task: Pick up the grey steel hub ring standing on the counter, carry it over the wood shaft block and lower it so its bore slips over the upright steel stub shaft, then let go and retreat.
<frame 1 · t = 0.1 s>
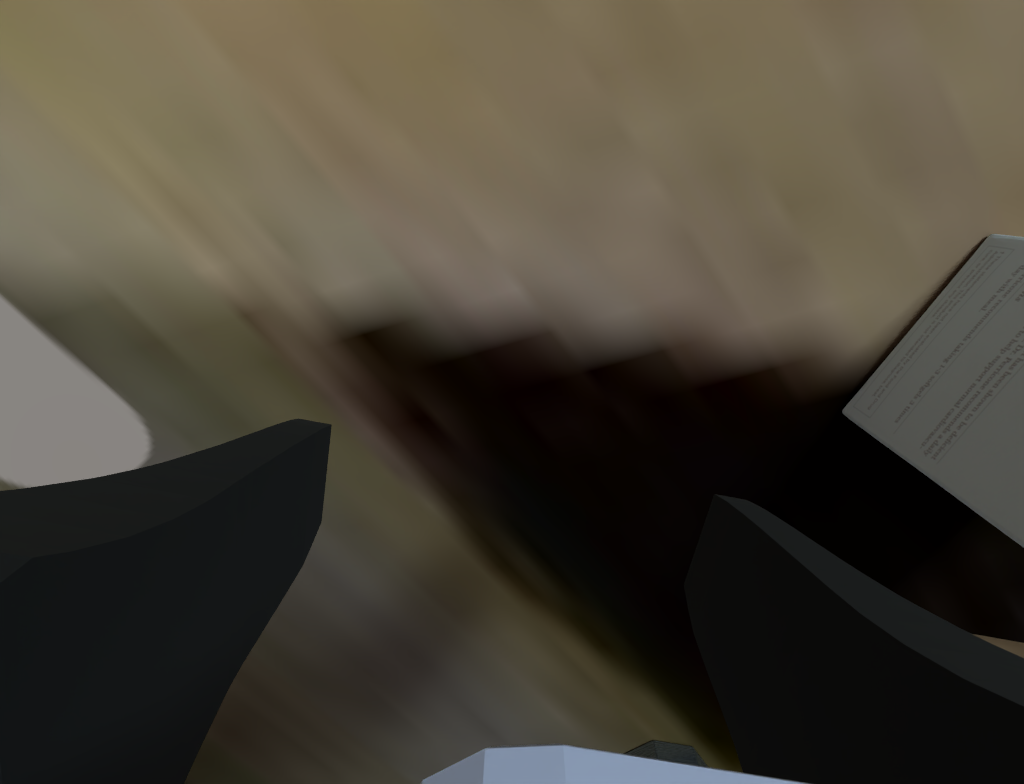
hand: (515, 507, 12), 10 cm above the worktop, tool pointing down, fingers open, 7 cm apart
hub: (659, 778, 27), on the worktop
supplement box: (986, 376, 21), on the worktop
shaft block: (900, 725, 26), on the worktop
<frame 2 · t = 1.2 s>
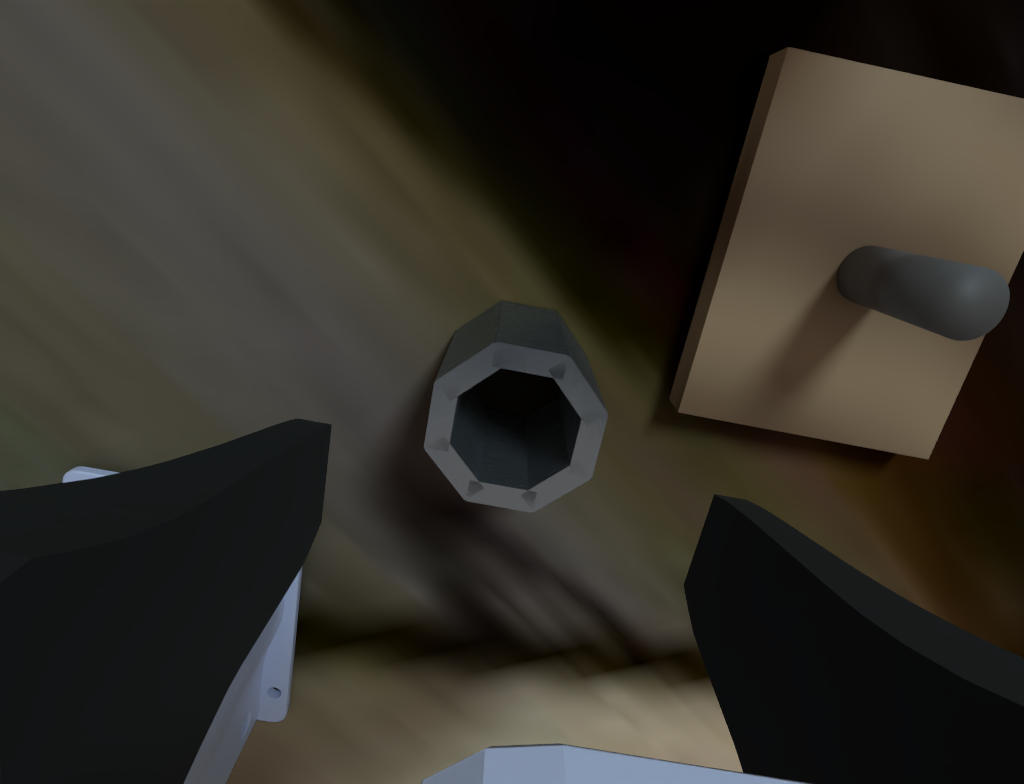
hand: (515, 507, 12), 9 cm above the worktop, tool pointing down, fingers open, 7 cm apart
hub: (516, 370, 20), on the worktop
shaft block: (844, 268, 19), on the worktop
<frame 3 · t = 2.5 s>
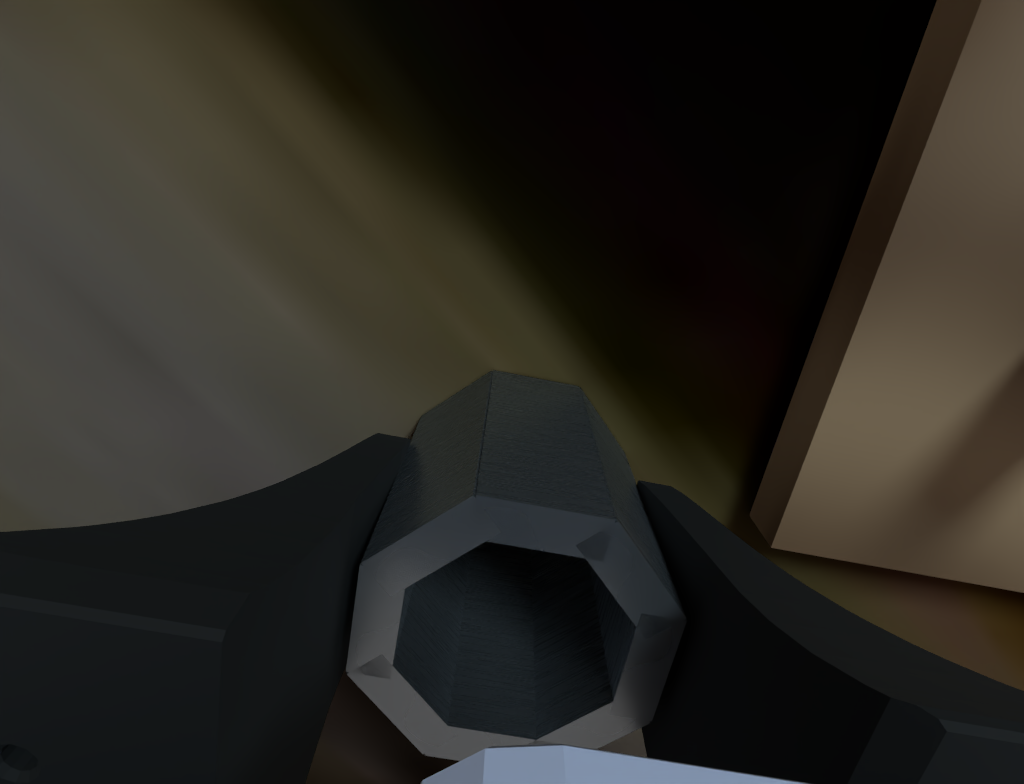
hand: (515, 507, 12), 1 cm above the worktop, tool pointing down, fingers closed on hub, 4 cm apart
hub: (515, 473, 13), on the worktop, touching gripper
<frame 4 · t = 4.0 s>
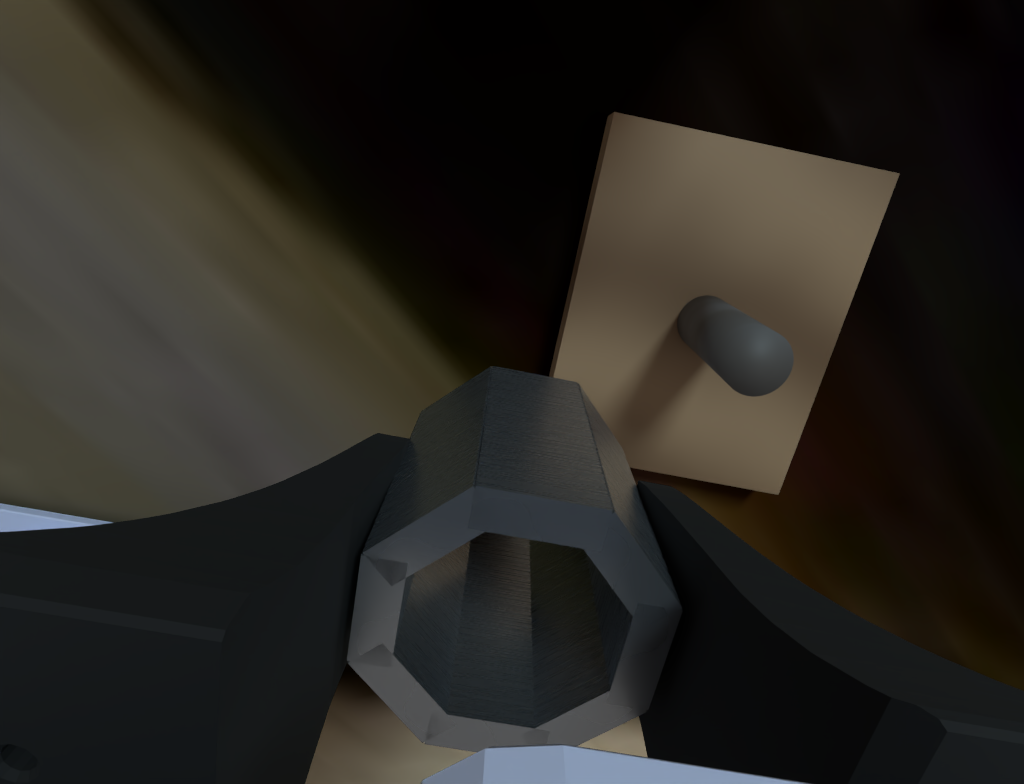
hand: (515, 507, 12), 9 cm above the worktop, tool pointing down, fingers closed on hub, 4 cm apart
hub: (514, 468, 13), point 7 cm above the worktop, touching gripper
shaft block: (693, 313, 19), on the worktop
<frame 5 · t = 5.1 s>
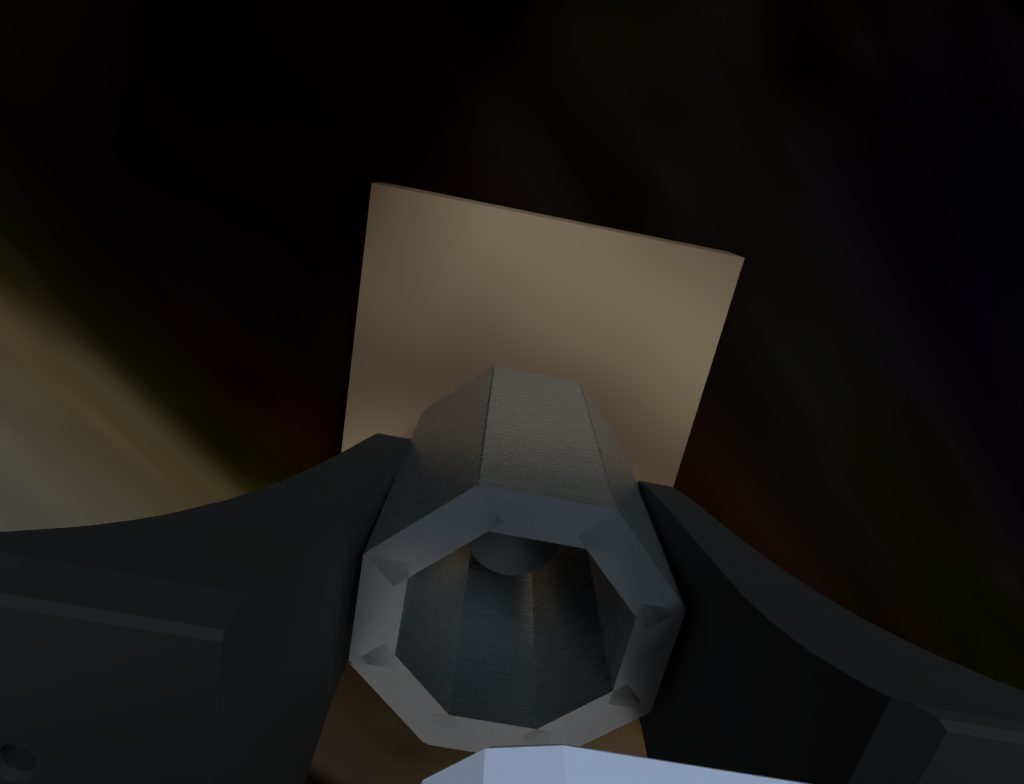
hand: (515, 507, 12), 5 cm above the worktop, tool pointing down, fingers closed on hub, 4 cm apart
hub: (516, 468, 13), point 3 cm above the worktop, touching gripper
shaft block: (515, 417, 16), on the worktop
when the fingers open (3 cm above the worktop, at t = 5.7 s): hub stays where it is, resting on shaft block.
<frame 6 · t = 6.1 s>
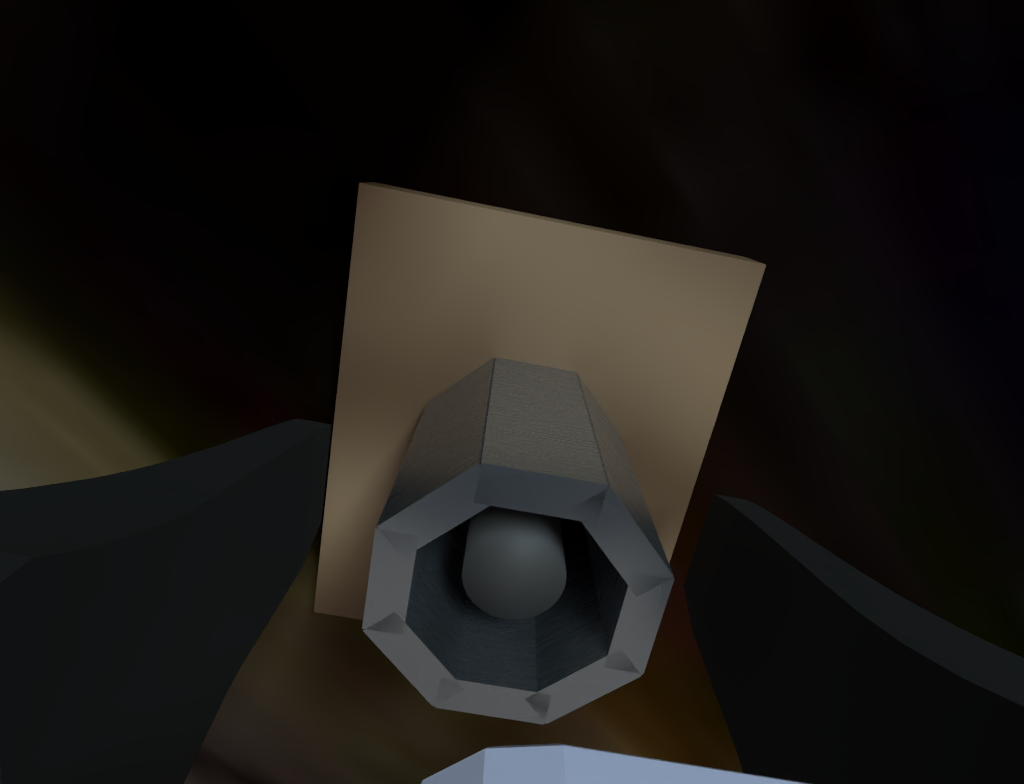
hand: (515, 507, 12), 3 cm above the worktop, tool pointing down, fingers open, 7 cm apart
hub: (517, 455, 14), point 1 cm above the worktop, touching shaft block
shaft block: (516, 434, 15), on the worktop
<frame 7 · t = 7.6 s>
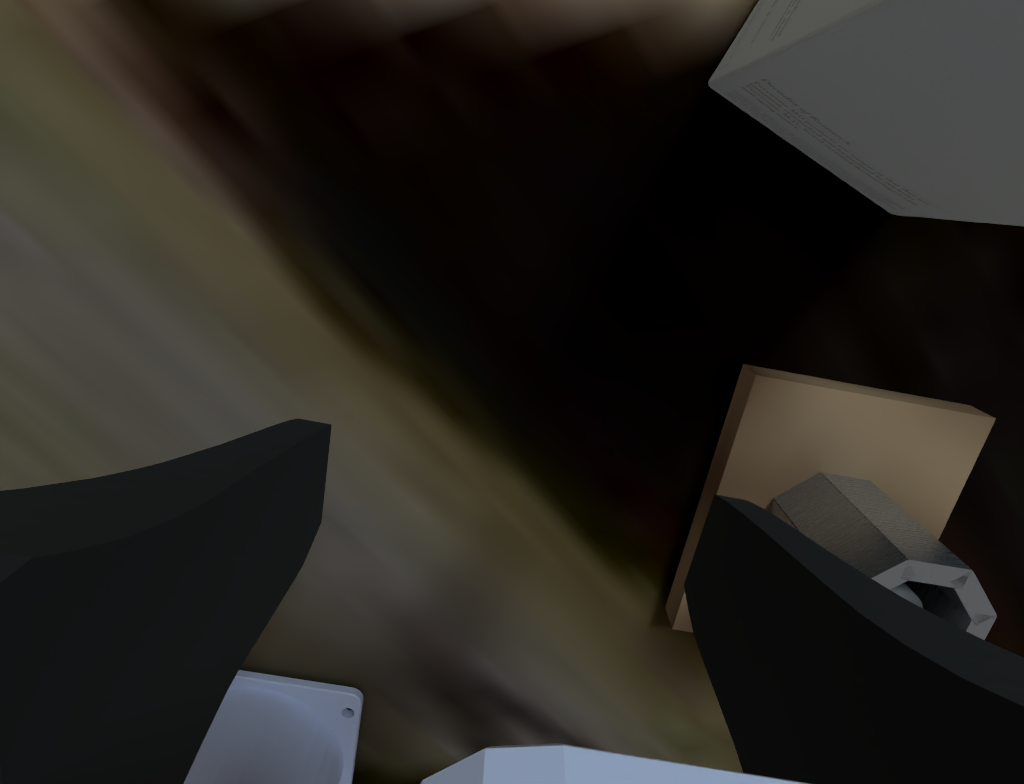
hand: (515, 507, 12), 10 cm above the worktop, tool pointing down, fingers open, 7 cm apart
hub: (823, 530, 21), point 1 cm above the worktop, touching shaft block
supplement box: (879, 38, 18), on the worktop
shaft block: (808, 513, 23), on the worktop
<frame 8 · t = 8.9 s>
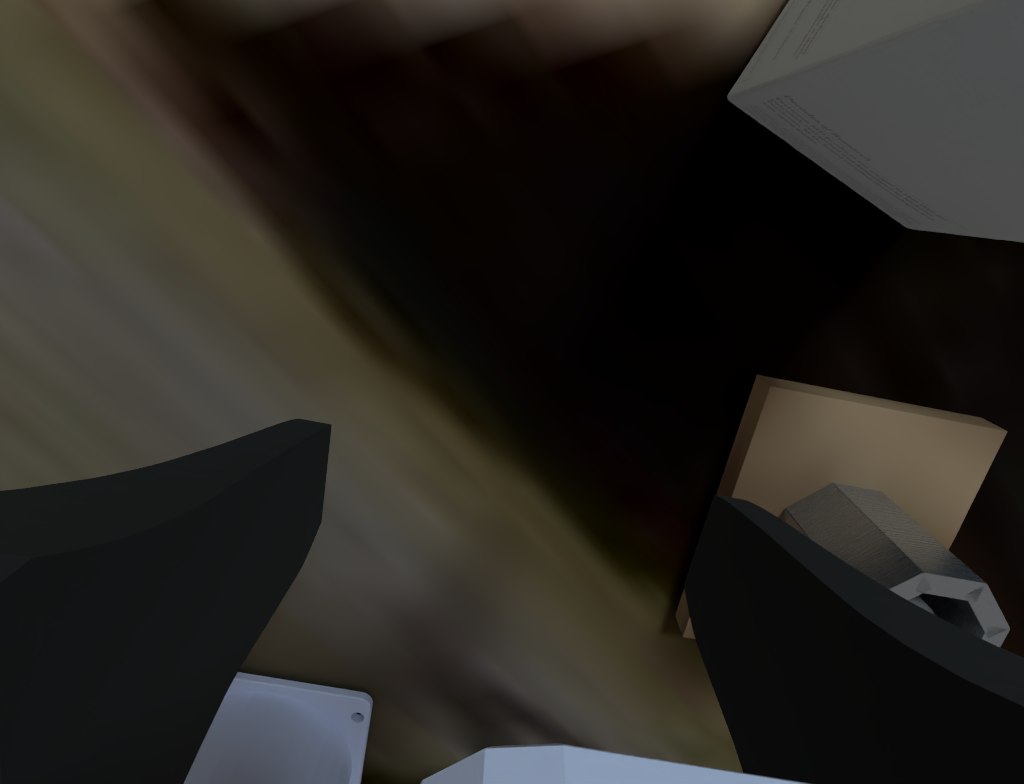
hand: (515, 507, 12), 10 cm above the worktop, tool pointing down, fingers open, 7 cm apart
hub: (835, 540, 22), point 1 cm above the worktop, touching shaft block
supplement box: (897, 54, 18), on the worktop
shaft block: (818, 522, 23), on the worktop
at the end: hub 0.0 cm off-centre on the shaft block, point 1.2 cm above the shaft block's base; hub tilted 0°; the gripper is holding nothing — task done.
